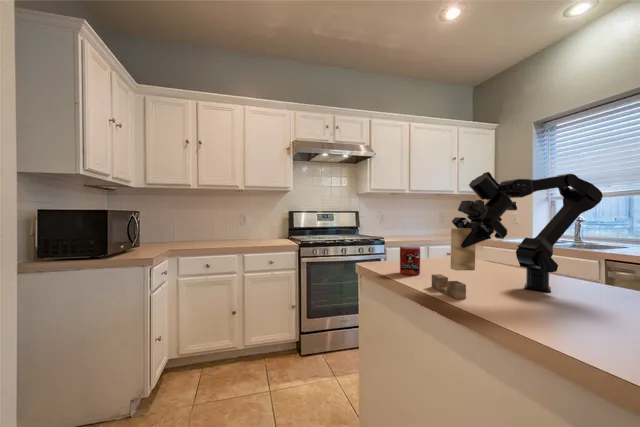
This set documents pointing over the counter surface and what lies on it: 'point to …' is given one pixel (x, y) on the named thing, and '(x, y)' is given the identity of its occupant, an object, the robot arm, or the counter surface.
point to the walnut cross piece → (449, 286)
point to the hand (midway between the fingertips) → (458, 246)
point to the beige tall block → (461, 250)
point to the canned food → (410, 260)
